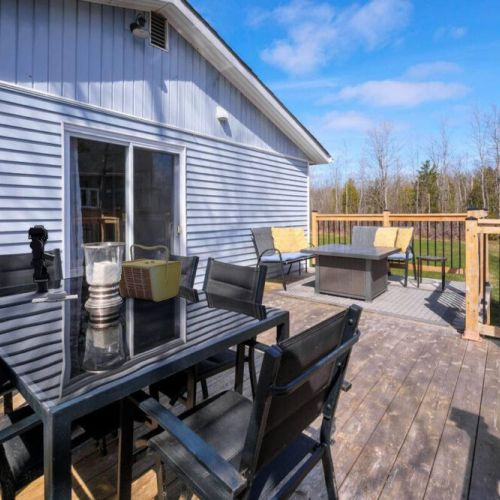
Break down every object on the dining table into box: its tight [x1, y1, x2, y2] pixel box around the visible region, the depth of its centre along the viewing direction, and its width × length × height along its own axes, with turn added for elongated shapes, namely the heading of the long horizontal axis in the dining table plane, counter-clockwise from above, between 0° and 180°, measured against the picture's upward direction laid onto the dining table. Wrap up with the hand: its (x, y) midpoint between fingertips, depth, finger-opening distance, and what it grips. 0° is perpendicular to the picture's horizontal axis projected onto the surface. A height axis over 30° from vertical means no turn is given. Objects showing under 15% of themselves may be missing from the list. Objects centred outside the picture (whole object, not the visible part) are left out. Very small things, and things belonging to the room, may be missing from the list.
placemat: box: [31, 294, 79, 304], centre depth 189 cm, size 8×22×1 cm, turn 118°
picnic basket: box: [118, 243, 183, 303], centre depth 193 cm, size 29×26×30 cm
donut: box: [46, 290, 68, 299], centre depth 190 cm, size 10×4×10 cm
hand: (39, 276), depth 195 cm, fingers closed
